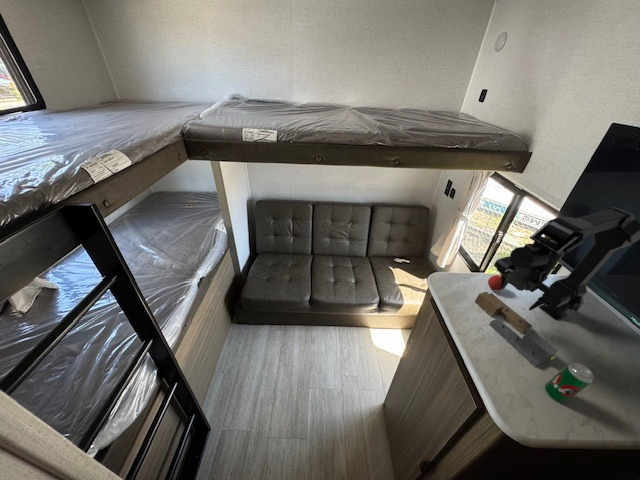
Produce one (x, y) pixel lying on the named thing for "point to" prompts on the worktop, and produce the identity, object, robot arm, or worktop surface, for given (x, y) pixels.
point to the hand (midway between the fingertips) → (515, 299)
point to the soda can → (569, 382)
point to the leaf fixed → (526, 343)
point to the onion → (495, 282)
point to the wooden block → (502, 311)
